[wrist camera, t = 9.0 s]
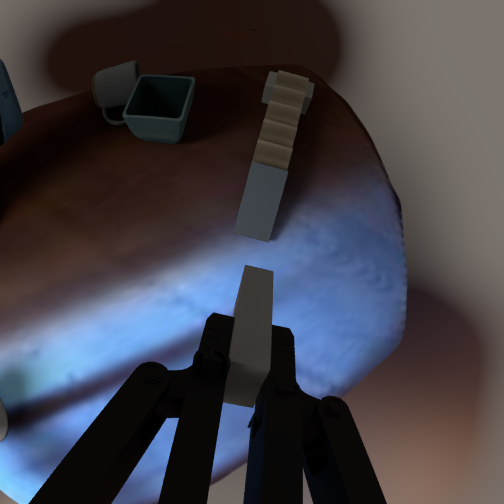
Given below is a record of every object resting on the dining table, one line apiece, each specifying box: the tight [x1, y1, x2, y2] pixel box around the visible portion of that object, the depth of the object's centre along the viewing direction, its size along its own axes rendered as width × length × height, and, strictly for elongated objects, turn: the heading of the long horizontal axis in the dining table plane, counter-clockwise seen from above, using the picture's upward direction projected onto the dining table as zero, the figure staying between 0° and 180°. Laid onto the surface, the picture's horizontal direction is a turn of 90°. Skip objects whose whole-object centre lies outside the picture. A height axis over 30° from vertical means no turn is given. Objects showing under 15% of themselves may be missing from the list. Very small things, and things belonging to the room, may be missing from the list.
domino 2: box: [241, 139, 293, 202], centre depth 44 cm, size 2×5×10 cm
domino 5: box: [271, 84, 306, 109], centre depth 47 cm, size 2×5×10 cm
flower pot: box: [123, 74, 195, 144], centre depth 43 cm, size 9×9×9 cm
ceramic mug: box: [92, 61, 141, 125], centre depth 45 cm, size 11×8×8 cm
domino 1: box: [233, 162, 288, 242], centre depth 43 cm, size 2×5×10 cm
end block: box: [261, 71, 314, 114], centre depth 50 cm, size 4×8×4 cm, turn 77°
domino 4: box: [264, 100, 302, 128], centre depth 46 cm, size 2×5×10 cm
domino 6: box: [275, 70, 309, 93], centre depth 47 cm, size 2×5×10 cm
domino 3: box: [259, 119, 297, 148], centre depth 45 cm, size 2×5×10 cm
